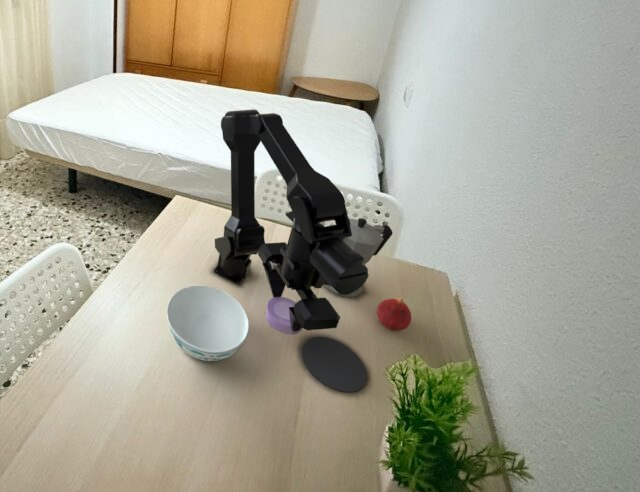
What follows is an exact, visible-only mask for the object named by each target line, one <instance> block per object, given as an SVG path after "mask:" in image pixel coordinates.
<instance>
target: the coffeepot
mask: <svg viewBox="0 0 640 492" xmlns="http://www.w3.org/2000/svg"><path fill="white" fill-rule="evenodd" d="M349 221H350V223H351V225H350V228H351V232H352V236H351V237H345V238H344V239H343V242H344V243H346V244H347V245H348V246H349V247H350V248H351V249H353V250H354V251H356V252H357V253H359V254H360V255H361V256H362V257H363V258H364V261H363V264H364V265H365V266H366V264H367V263H369V262H370V261H371V259H372V258H373V257H374V256H375V257H376V256H377V255H378V254H379V252H380V251H381V250H382V249H383V248H384V246H385V245H386V243H387V242H388V241H389V240H390V239H391V237H392V236H393V230H392V228H391V227H390V225H388V224H383V225H381V224H375V225H371V224H369V223H368V221H367V219H365V218H361V217H360V218H358V219H357V218H356V219H355V218H349ZM334 225H336V223H335V222H334ZM364 285H365V283H364V284H363V285H362V286H361V287H360V288H359V289H358V290H356V291H355V292H353V293H351V294H347V295H341V294H339V293H338V292H337V291H336V290H335V289H334V288H333V287H332V286H329V285H324V287H325V288H326V289H328V290H329V291H331V292H332V293H334V294H336V295H338V296H342V297H347V298H351V297H353V298H355V297H357V296H359V294H360V293H361V292H363V291H364Z"/></svg>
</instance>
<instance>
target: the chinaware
mask: <svg viewBox="0 0 640 492" xmlns="http://www.w3.org/2000/svg"><path fill="white" fill-rule="evenodd" d="M166 319H167V320H166V321H167V326H168V328H169V331H170V333H171V336H172V338H173V340H174V341H175V342H176V344H177V345H178V346H179V347H180V349H182V351H183V352H185V353H186V354H187V355H189V356H190V357H192V358H195V359H197V360H199V361H203V362H204V361H205V362H218V361H221V360H225V359H227V358H229V357H231V356H232V355H234V354H235V353H236V352H237V351H238V350H239V349H240V348H241V346H243V344H244V343H245V341H246V339H247V337H248V334H249V331H250V322H249V317H248V315H247V312H246V309H244V307H243V306H242V304H241V303H240V302H239V301H238V300H237V299H236V298H235V297H234V296H232V295H231V294H230V293H228V292H226V291H224V290H222V289H220V288H218V287H214V286H211V285H205V284H204V285H203V284H195V285H189V286H185V287H183V288H181V289H179V290H177V291H175V293H174V294H173V295H172V296H171V297H170V298H169V300H168V303H167V306H166Z"/></svg>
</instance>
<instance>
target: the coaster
mask: <svg viewBox="0 0 640 492" xmlns="http://www.w3.org/2000/svg"><path fill="white" fill-rule="evenodd" d="M301 358H302V362H303V363H304V366H305V367H306V369H307V370H308V372H309V373H310V374H311V376H313V377H314V378H315V379H316V380H317V381H318V382H320V383H321V384H322V385H324V386H326V387H328V388H329V389H331V390H334V391H337V392H341V393H355V392H358V391H359V390H361V389H363V387H364V386H365V385H366V382H367V378H368V377H367V370H366V366H365V365H364V363H363V361H362V360H361V358H360V357H359V356H358V355H357V353H356V352H354V351H353V349H351V347H349V346H347V345H346V344H344V343H342V342H341V341H338V340H337V339H334V338H332V337H328V336H313V337H310V338H309V339H307V340H305V342H304V343H303V345H302V348H301Z"/></svg>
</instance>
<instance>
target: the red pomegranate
mask: <svg viewBox="0 0 640 492" xmlns="http://www.w3.org/2000/svg"><path fill="white" fill-rule="evenodd" d="M376 315H377V318H378V321H379V322H380V323H381V325H382V326H383V327H385V328H386V329H387V330H388V329H389V330H390V331H395V332H401V331H404V330H406V329H407V328H408V327H409V326H410V325H411V323H412V312H411V310H410V308H409V306H408V305H407V304H406V303H405V302H404V298H403V297H401V296H400V297H397V298H387V299H386V298H385V299H383V300H382V301H381V302H380V303H378V305H377V308H376Z"/></svg>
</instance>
